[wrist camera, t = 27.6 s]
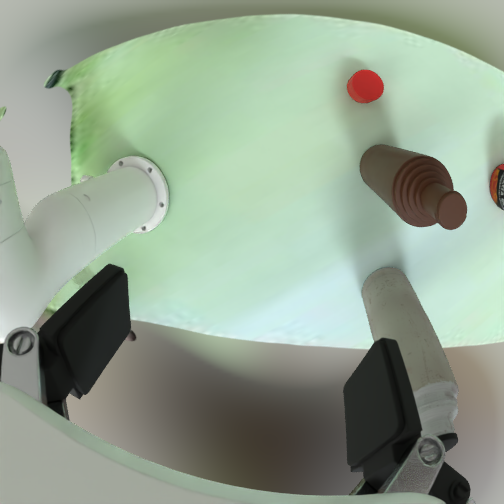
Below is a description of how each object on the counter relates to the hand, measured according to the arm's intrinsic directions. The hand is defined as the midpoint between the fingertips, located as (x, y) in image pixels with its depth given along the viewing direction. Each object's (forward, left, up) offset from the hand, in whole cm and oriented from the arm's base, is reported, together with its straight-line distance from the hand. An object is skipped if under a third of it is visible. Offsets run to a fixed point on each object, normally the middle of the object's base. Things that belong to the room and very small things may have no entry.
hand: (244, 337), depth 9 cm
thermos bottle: (+20, -11, -29) cm, 37 cm away
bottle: (+11, +6, -29) cm, 32 cm away
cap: (+6, +15, -29) cm, 33 cm away
